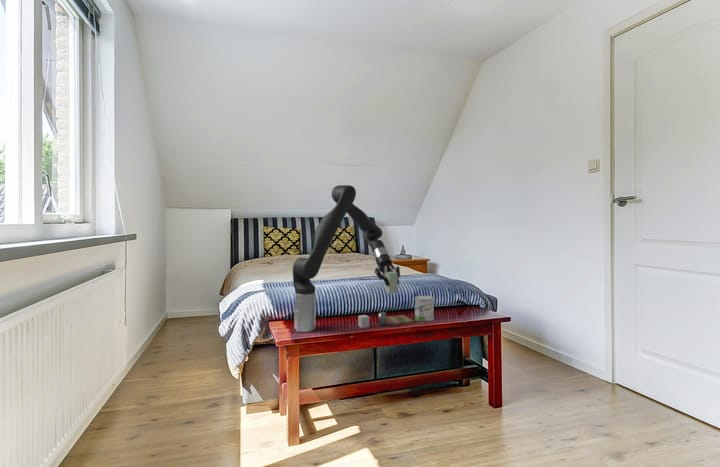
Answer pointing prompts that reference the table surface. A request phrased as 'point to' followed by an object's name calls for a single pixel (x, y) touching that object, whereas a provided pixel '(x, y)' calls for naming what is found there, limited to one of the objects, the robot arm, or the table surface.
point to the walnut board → (399, 320)
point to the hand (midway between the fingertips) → (393, 284)
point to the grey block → (363, 321)
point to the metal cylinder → (382, 319)
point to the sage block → (391, 282)
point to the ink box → (424, 308)
